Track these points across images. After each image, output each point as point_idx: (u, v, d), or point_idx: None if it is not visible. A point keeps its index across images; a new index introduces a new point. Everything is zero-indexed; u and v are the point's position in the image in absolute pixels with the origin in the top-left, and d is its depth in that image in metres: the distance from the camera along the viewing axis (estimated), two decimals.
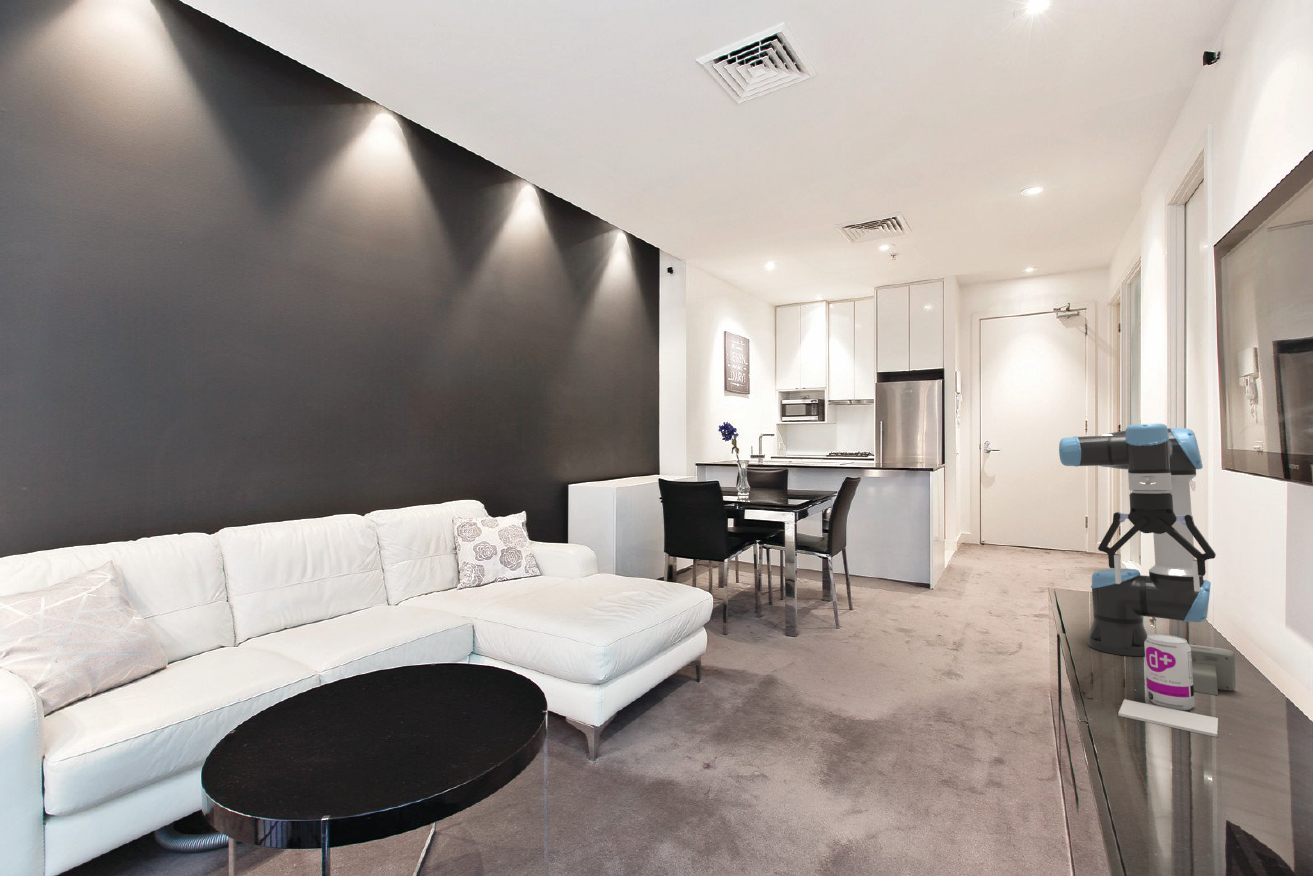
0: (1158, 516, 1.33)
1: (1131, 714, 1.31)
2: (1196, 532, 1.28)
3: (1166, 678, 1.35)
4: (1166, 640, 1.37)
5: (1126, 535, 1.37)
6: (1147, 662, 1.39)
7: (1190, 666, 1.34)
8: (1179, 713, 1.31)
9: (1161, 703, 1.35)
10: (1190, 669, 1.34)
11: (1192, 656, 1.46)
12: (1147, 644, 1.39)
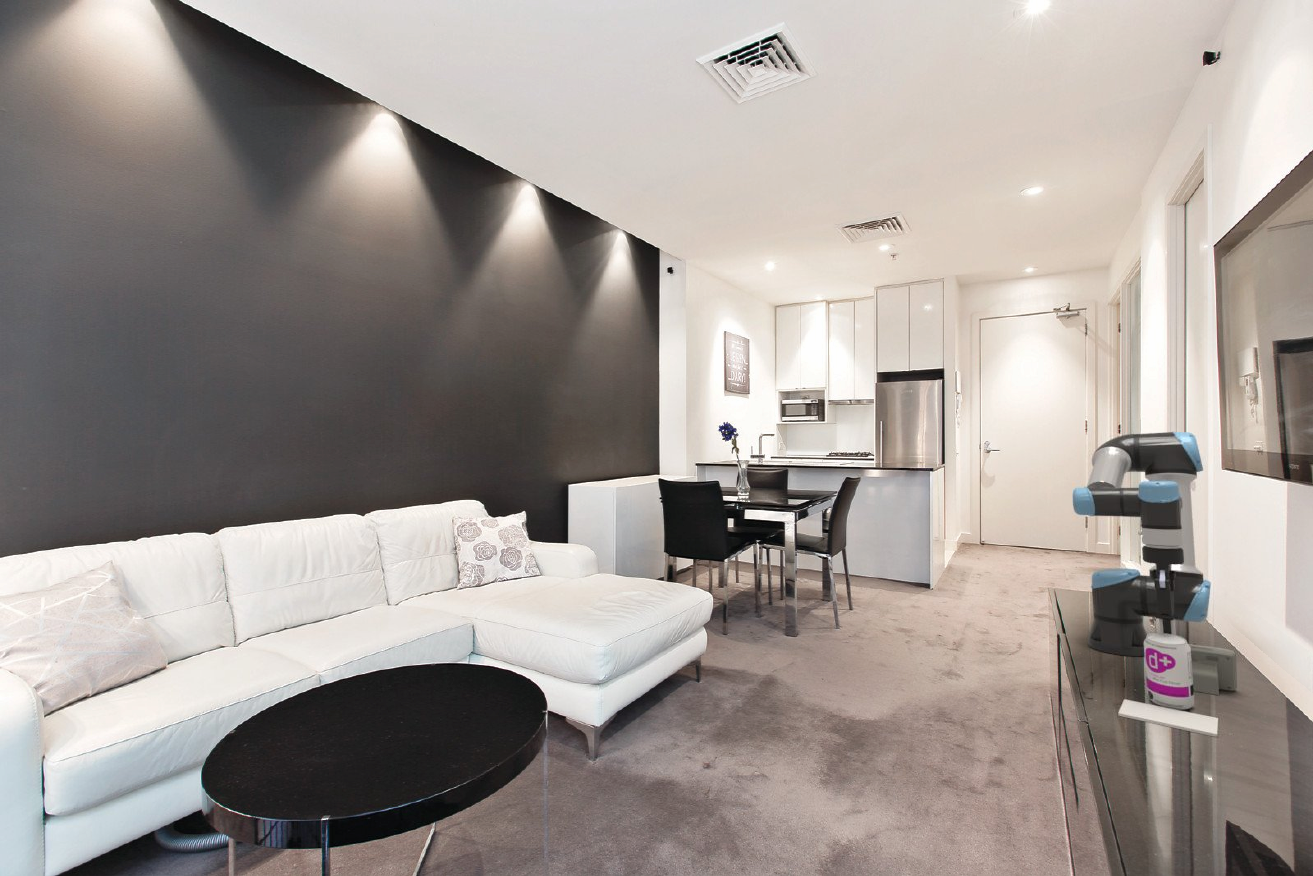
0: None
1: (1131, 714, 1.31)
2: None
3: (1166, 679, 1.34)
4: (1166, 641, 1.36)
5: None
6: (1147, 662, 1.38)
7: (1190, 666, 1.33)
8: (1179, 713, 1.31)
9: (1161, 703, 1.35)
10: (1190, 669, 1.33)
11: (1193, 656, 1.46)
12: (1146, 645, 1.38)
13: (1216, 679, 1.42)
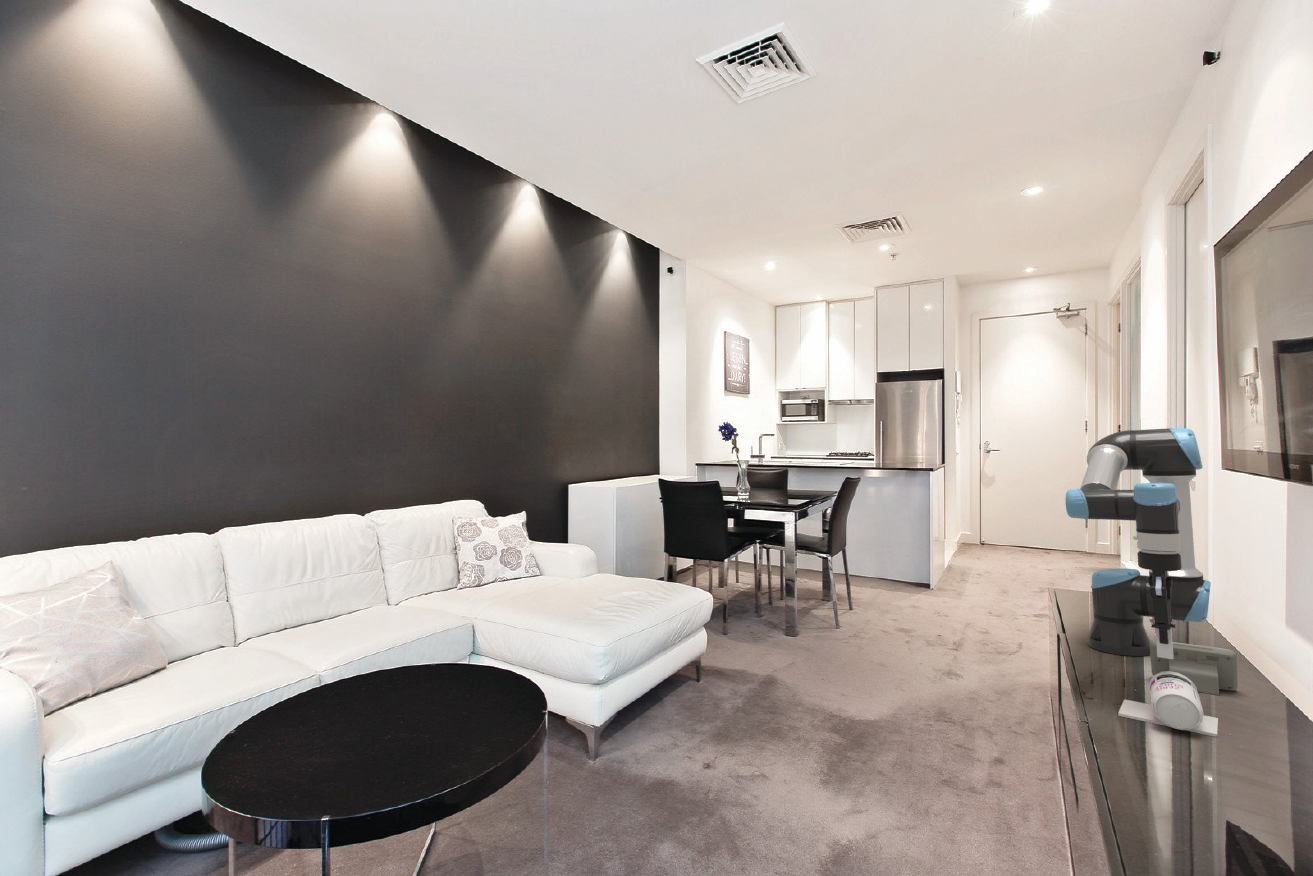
0: None
1: (1131, 714, 1.31)
2: None
3: None
4: (1176, 717, 1.23)
5: None
6: None
7: None
8: None
9: None
10: None
11: (1194, 656, 1.46)
12: None
13: (1216, 679, 1.42)
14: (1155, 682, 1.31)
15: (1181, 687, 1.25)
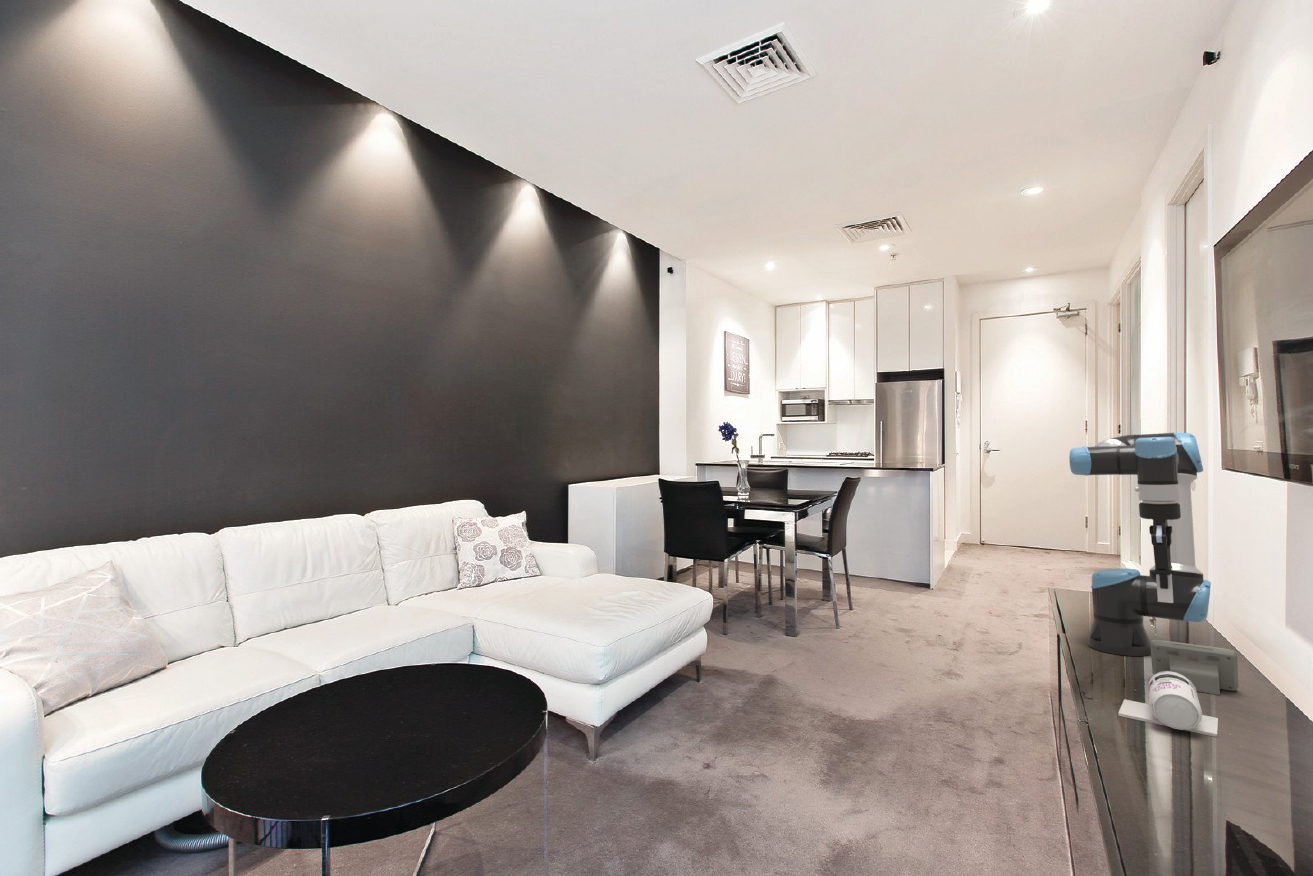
0: None
1: (1131, 714, 1.31)
2: None
3: None
4: (1175, 717, 1.23)
5: None
6: None
7: None
8: None
9: None
10: None
11: (1194, 656, 1.46)
12: (1153, 713, 1.26)
13: (1217, 679, 1.42)
14: (1153, 683, 1.32)
15: (1179, 687, 1.25)
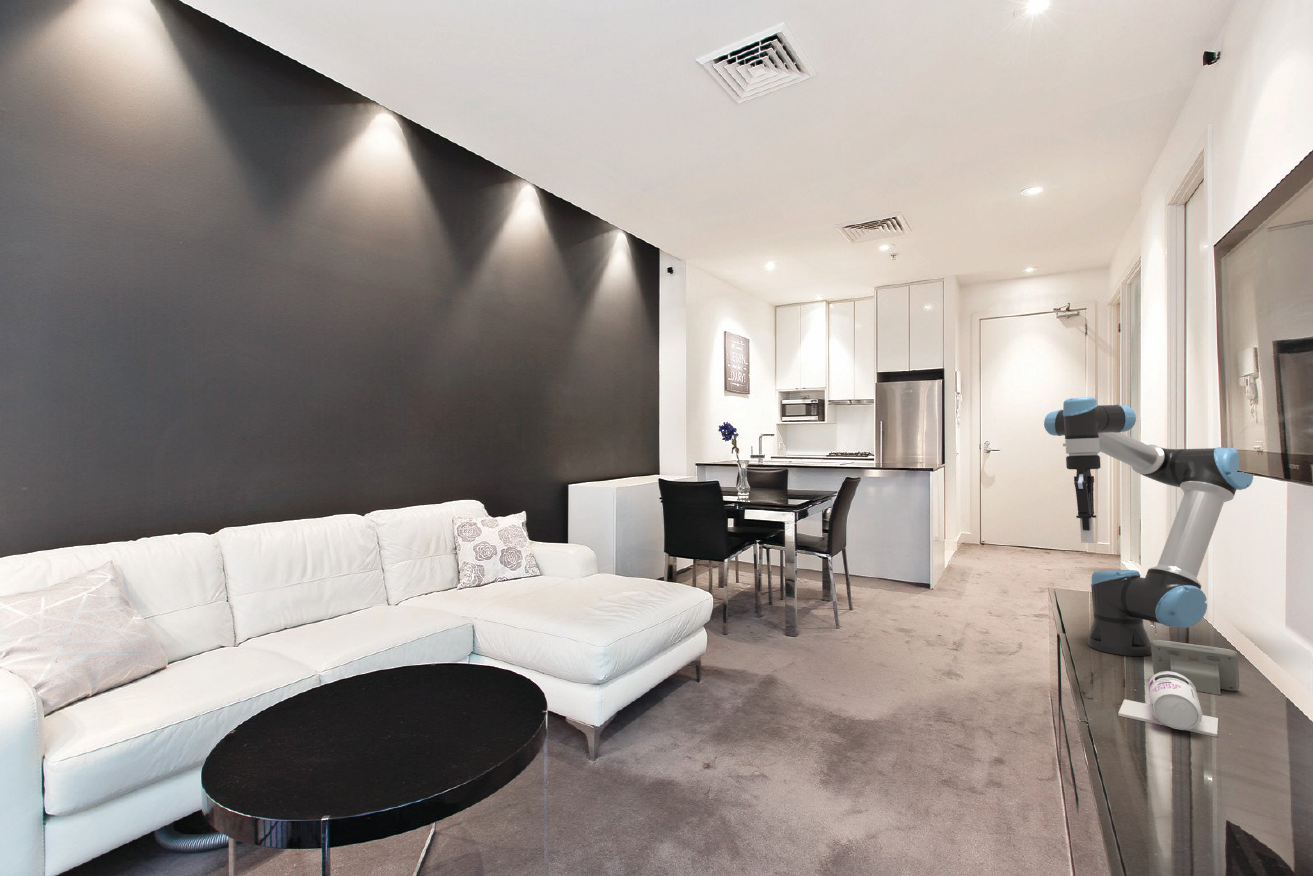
0: None
1: (1131, 714, 1.31)
2: None
3: None
4: (1175, 717, 1.23)
5: None
6: None
7: None
8: None
9: None
10: None
11: (1195, 656, 1.46)
12: (1153, 713, 1.26)
13: (1218, 679, 1.42)
14: (1153, 683, 1.32)
15: (1179, 687, 1.25)
